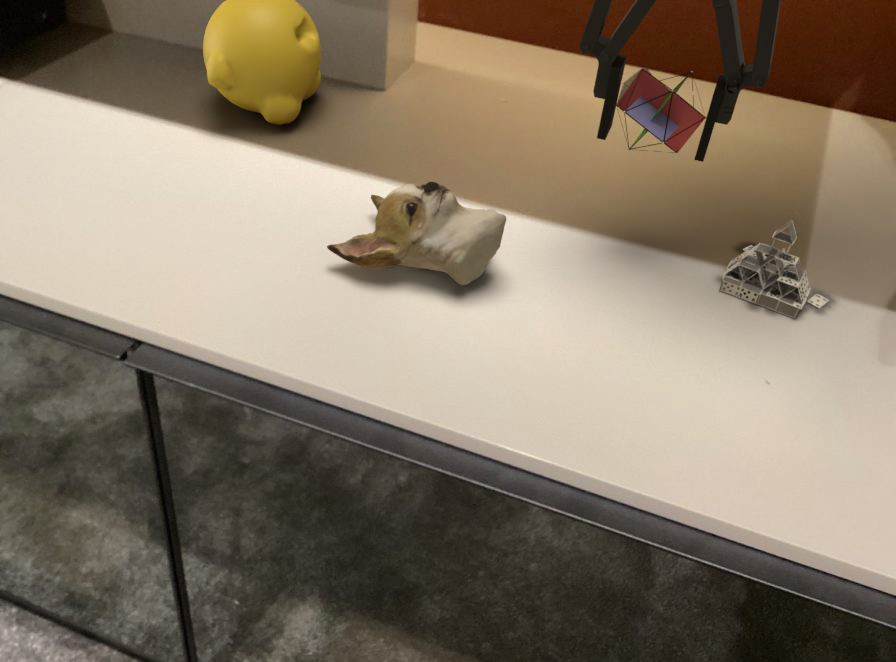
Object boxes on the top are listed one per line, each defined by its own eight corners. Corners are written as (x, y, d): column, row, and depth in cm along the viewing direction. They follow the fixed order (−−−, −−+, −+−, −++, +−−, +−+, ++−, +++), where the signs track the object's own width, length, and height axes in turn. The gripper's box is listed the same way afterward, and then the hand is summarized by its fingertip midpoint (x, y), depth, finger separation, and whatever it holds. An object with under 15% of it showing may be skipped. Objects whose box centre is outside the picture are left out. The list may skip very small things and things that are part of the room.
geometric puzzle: (730, 125, 82) (696, 37, 80) (701, 159, 78) (663, 68, 76) (656, 148, 88) (622, 67, 85) (625, 181, 84) (588, 97, 81)
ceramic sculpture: (485, 233, 77) (318, 194, 82) (480, 318, 83) (325, 277, 88) (527, 169, 84) (372, 137, 89) (520, 252, 90) (375, 218, 95)
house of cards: (841, 277, 89) (873, 207, 83) (814, 328, 83) (847, 257, 78) (745, 243, 92) (770, 174, 87) (714, 290, 87) (739, 219, 81)
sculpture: (313, 134, 100) (259, 10, 92) (215, 154, 106) (156, 39, 98) (359, 69, 110) (314, -48, 103) (267, 90, 116) (218, -19, 108)
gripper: (568, -152, 68) (526, 137, 84) (877, -107, 63) (769, 191, 79) (593, -179, 73) (548, 98, 89) (880, -140, 68) (778, 147, 84)
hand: (652, 142), depth 84 cm, fingers closed on geometric puzzle, 8 cm apart
